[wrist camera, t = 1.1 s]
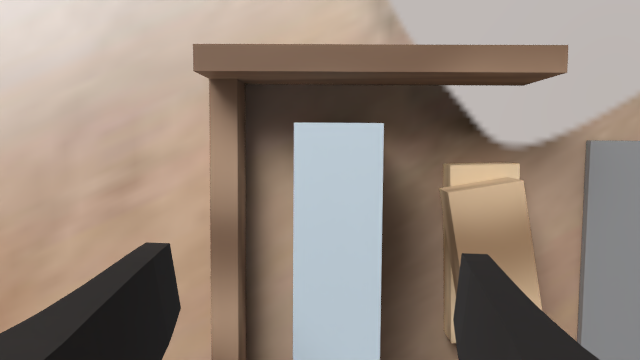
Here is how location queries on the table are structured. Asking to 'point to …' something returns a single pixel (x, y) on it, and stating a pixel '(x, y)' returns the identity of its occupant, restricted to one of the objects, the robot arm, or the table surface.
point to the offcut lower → (451, 177)
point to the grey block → (611, 251)
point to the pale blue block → (337, 240)
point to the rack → (318, 68)
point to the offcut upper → (492, 229)
